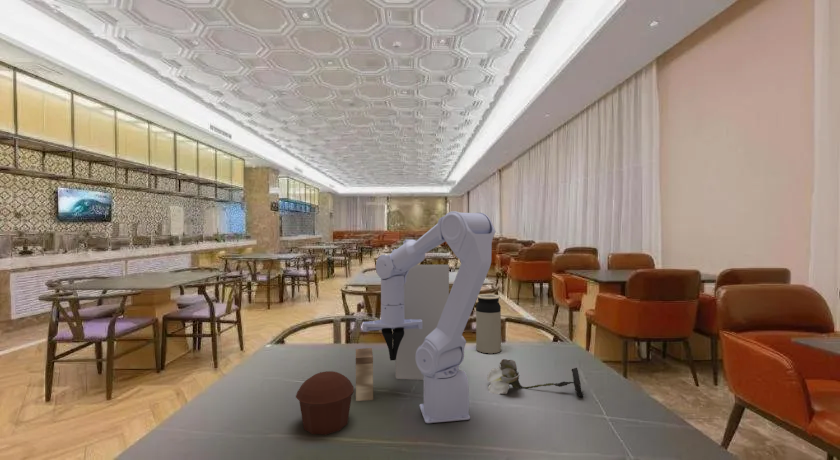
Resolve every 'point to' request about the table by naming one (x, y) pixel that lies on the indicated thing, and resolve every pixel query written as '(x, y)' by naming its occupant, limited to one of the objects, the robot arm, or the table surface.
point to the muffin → (325, 402)
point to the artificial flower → (509, 376)
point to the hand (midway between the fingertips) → (392, 359)
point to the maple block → (364, 374)
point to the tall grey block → (421, 313)
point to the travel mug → (488, 324)
